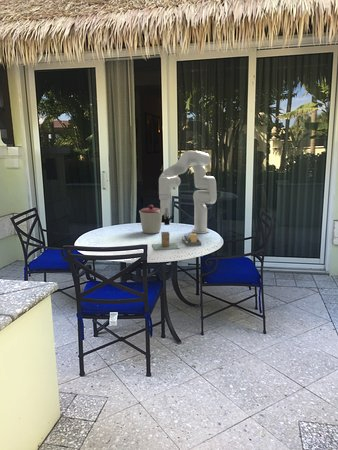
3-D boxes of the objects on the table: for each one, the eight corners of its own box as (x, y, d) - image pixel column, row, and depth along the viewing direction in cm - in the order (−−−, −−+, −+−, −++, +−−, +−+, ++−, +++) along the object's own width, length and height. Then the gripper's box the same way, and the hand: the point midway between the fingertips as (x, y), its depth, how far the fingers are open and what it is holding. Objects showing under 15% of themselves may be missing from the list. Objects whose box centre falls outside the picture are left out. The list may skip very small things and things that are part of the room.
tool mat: (152, 245, 238) (152, 244, 238) (175, 243, 240) (175, 243, 240) (154, 250, 226) (154, 249, 226) (179, 248, 229) (179, 248, 229)
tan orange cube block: (189, 240, 240) (189, 233, 239) (195, 240, 241) (195, 233, 240) (190, 242, 236) (190, 235, 235) (196, 242, 237) (196, 234, 236)
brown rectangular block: (161, 245, 235) (161, 231, 233) (168, 245, 236) (168, 231, 234) (162, 247, 231) (162, 233, 229) (169, 246, 231) (169, 233, 230)
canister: (164, 229, 281) (164, 203, 277) (161, 235, 264) (161, 207, 259) (141, 229, 283) (141, 202, 278) (137, 234, 265) (136, 206, 261)
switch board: (182, 240, 249) (182, 235, 248) (196, 239, 251) (196, 234, 250) (186, 245, 236) (186, 240, 235) (201, 245, 237) (201, 240, 237)
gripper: (157, 194, 234) (158, 220, 238) (161, 199, 217) (161, 226, 222) (168, 194, 235) (169, 219, 239) (173, 198, 219) (173, 225, 223)
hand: (165, 223), depth 230 cm, fingers open, 9 cm apart
